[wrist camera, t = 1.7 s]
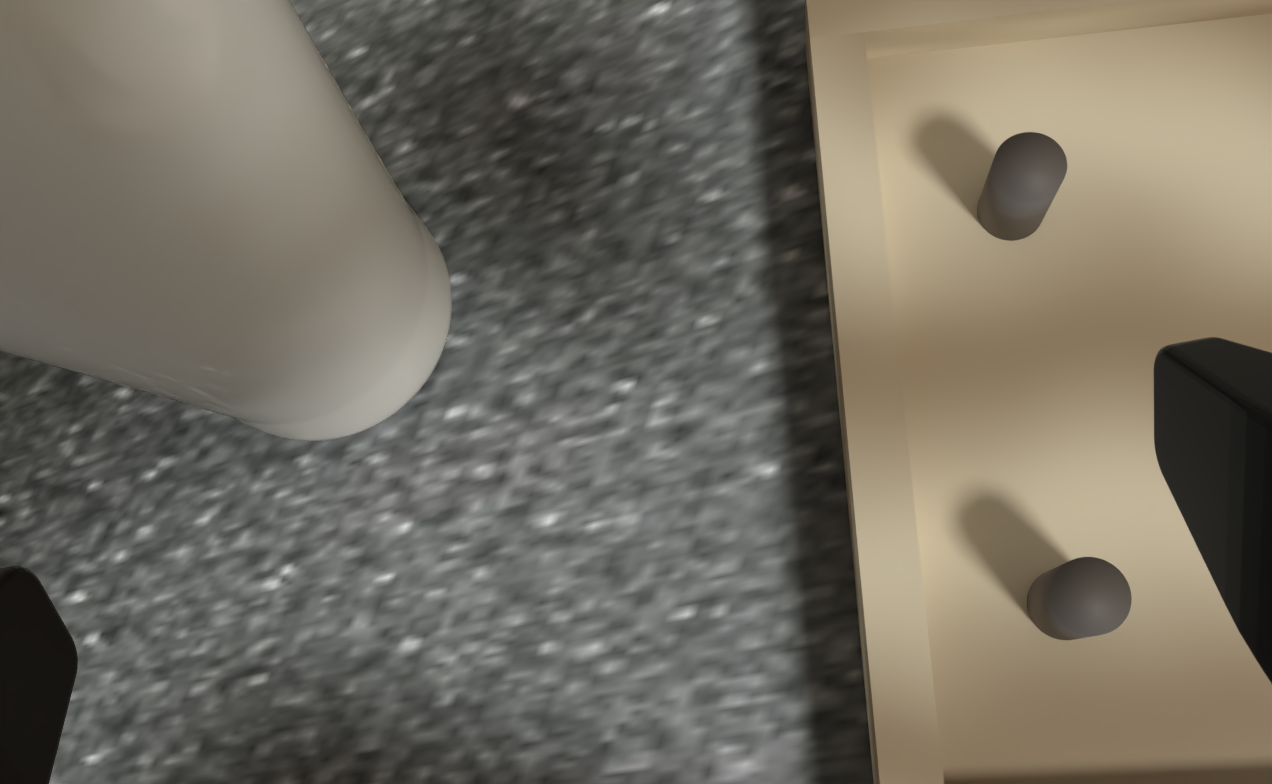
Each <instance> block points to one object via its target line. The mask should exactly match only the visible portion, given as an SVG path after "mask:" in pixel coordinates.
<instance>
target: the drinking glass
mask: <svg viewBox="0 0 1272 784" xmlns="http://www.w3.org/2000/svg"><path fill="white" fill-rule="evenodd" d="M451 315H452V291H451V282H450V277H449V272H448V269H447V266H446V262H445V259H444V257H443V254H442V252H441V250H440V248H439V246H438V244H437V242H436V240H435V239H434V237H433V235H432V234H431V232H430V231H429V229H428V228H427V227H426V225H425V224H424V222H423V221H422V220H421V219H420V217H419V216H418V215H417V214H416V212H415V211H414V210H413V209H412V208H411V206H410V205H409V204H408V203H407V201H406V200H405V198H404V197H403V195H402V193H401V192H400V190H399V188H398V187H397V185H396V184H395V182H394V180H393V179H392V177H391V175H390V173H389V172H388V170H387V168H386V167H385V165H384V163H383V162H382V160H381V158H380V157H379V155H378V153H377V151H376V150H375V148H374V146H373V145H372V143H371V141H370V139H369V138H368V136H367V134H366V133H365V131H364V129H363V127H362V126H361V124H360V122H359V121H358V119H357V117H356V115H355V114H354V112H353V110H352V108H351V107H350V105H349V103H348V102H347V100H346V98H345V96H344V95H343V93H342V91H341V89H340V88H339V86H338V84H337V82H336V81H335V79H334V77H333V75H332V74H331V72H330V70H329V68H328V67H327V65H326V63H325V61H324V60H323V58H322V56H321V54H320V53H319V51H318V49H317V47H316V46H315V44H314V42H313V40H312V39H311V37H310V35H309V33H308V32H307V30H306V28H305V26H304V24H303V23H302V21H301V19H300V17H299V16H298V14H297V12H296V10H295V9H294V7H293V5H292V3H291V2H290V0H0V351H1V352H5V353H9V354H12V355H16V356H19V357H23V358H27V359H30V360H34V361H37V362H41V363H45V364H48V365H52V366H55V367H59V368H63V369H66V370H70V371H74V372H77V373H81V374H84V375H88V376H91V377H95V378H98V379H102V380H106V381H109V382H113V383H116V384H120V385H123V386H127V387H130V388H134V389H137V390H141V391H144V392H148V393H151V394H155V395H158V396H162V397H165V398H169V399H172V400H176V401H179V402H182V403H186V404H189V405H193V406H196V407H199V408H203V409H206V410H209V411H213V412H216V413H219V414H223V415H226V416H229V417H231V418H233V419H235V420H238V421H240V422H242V423H244V424H246V425H248V426H250V427H253V428H255V429H257V430H260V431H262V432H265V433H268V434H271V435H274V436H278V437H282V438H286V439H293V440H300V441H322V440H331V439H337V438H342V437H346V436H350V435H353V434H356V433H359V432H362V431H364V430H367V429H369V428H371V427H373V426H375V425H377V424H379V423H380V422H382V421H384V420H385V419H387V418H389V417H390V416H392V415H393V414H394V413H396V412H397V411H398V410H400V409H401V408H402V407H403V406H404V405H405V404H406V403H408V402H409V401H410V400H411V399H412V398H413V397H414V395H415V394H416V393H417V392H418V391H419V390H420V389H421V387H422V386H423V385H424V384H425V382H426V381H427V379H428V378H429V376H430V375H431V373H432V372H433V370H434V368H435V366H436V364H437V363H438V361H439V359H440V356H441V354H442V352H443V349H444V347H445V343H446V340H447V337H448V333H449V328H450V323H451Z"/></svg>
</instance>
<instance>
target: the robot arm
mask: <svg viewBox="0 0 1272 784" xmlns="http://www.w3.org/2000/svg"><path fill="white" fill-rule="evenodd" d="M1153 376H1154V446H1155V453H1156V457H1157V461H1158V464H1159V467H1160V470H1161V473H1162V475H1163V477H1164V479H1165V481H1166V483H1167V485H1168V487H1169V489H1170V492H1171V494H1172V496H1173V498H1174V500H1175V502H1176V504H1177V506H1178V508H1179V510H1180V512H1181V514H1182V516H1183V518H1184V521H1185V523H1186V525H1187V527H1188V529H1189V531H1190V533H1191V535H1192V537H1193V539H1194V541H1195V543H1196V545H1197V548H1198V550H1199V552H1200V554H1201V556H1202V558H1203V560H1204V562H1205V564H1206V566H1207V568H1208V570H1209V572H1210V574H1211V577H1212V579H1213V581H1214V583H1215V585H1216V587H1217V589H1218V591H1219V593H1220V595H1221V597H1222V599H1223V601H1224V604H1225V606H1226V608H1227V609H1228V611H1229V613H1230V615H1231V617H1232V619H1233V621H1234V623H1235V625H1236V627H1237V629H1238V631H1239V633H1240V634H1241V636H1242V637H1243V639H1244V641H1245V642H1246V644H1247V646H1248V647H1249V649H1250V651H1251V652H1252V654H1253V656H1254V657H1255V659H1256V660H1257V662H1258V664H1259V665H1260V667H1261V668H1262V670H1263V671H1264V673H1265V674H1266V676H1267V677H1268V679H1269V681H1270V682H1271V684H1272V353H1271V352H1268V351H1264V350H1261V349H1257V348H1254V347H1250V346H1247V345H1243V344H1240V343H1236V342H1233V341H1229V340H1226V339H1223V338H1219V337H1206V338H1201V339H1196V340H1191V341H1185V342H1180V343H1175V344H1170V345H1167V346H1164V347H1162V348H1161V349H1160V350H1159V352H1158V353H1157V355H1156V358H1155V362H1154V371H1153ZM77 663H78V658H77V651H76V647H75V644H74V641H73V639H72V637H71V635H70V633H69V632H68V630H67V628H66V626H65V625H64V623H63V621H62V619H61V618H60V616H59V614H58V612H57V610H56V609H55V607H54V605H53V603H52V602H51V600H50V598H49V596H48V595H47V593H46V591H45V589H44V588H43V586H42V584H41V582H40V581H39V579H38V578H37V576H36V575H35V574H34V573H33V572H31V571H30V570H29V569H27V568H24V567H21V566H11V567H6V568H0V784H49V780H50V777H51V773H52V769H53V765H54V761H55V757H56V753H57V749H58V745H59V741H60V737H61V733H62V729H63V725H64V721H65V717H66V713H67V709H68V705H69V701H70V698H71V694H72V690H73V686H74V682H75V678H76V674H77Z"/></svg>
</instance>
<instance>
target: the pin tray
mask: <svg viewBox="0 0 1272 784" xmlns="http://www.w3.org/2000/svg"><path fill="white" fill-rule="evenodd" d="M805 48H806V59H807V69H808V80H809V91H810V102H811V113H812V123H813V134H814V145H815V156H816V167H817V177H818V188H819V199H820V210H821V220H822V231H823V242H824V253H825V264H826V274H827V285H828V296H829V307H830V317H831V328H832V339H833V350H834V361H835V371H836V382H837V393H838V404H839V415H840V425H841V436H842V447H843V458H844V468H845V479H846V490H847V501H848V512H849V522H850V533H851V544H852V555H853V566H854V576H855V587H856V598H857V609H858V619H859V630H860V641H861V652H862V663H863V673H864V684H865V695H866V706H867V716H868V727H869V738H870V749H871V760H872V770H873V781H874V784H1272V684H1271V682H1270V681H1269V679H1268V677H1267V676H1266V674H1265V673H1264V671H1263V670H1262V668H1261V667H1260V665H1259V664H1258V662H1257V660H1256V659H1255V657H1254V656H1253V654H1252V652H1251V651H1250V649H1249V647H1248V646H1247V644H1246V642H1245V641H1244V639H1243V637H1242V636H1241V634H1240V633H1239V631H1238V629H1237V627H1236V625H1235V623H1234V621H1233V619H1232V617H1231V615H1230V613H1229V611H1228V609H1227V608H1226V606H1225V604H1224V601H1223V599H1222V597H1221V595H1220V593H1219V591H1218V589H1217V587H1216V585H1215V583H1214V581H1213V579H1212V577H1211V574H1210V572H1209V570H1208V568H1207V566H1206V564H1205V562H1204V560H1203V558H1202V556H1201V554H1200V552H1199V550H1198V548H1197V545H1196V543H1195V541H1194V539H1193V537H1192V535H1191V533H1190V531H1189V529H1188V527H1187V525H1186V523H1185V521H1184V518H1183V516H1182V514H1181V512H1180V510H1179V508H1178V506H1177V504H1176V502H1175V500H1174V498H1173V496H1172V494H1171V492H1170V489H1169V487H1168V485H1167V483H1166V481H1165V479H1164V477H1163V475H1162V473H1161V470H1160V467H1159V464H1158V461H1157V457H1156V453H1155V446H1154V376H1153V371H1154V362H1155V358H1156V355H1157V353H1158V352H1159V350H1160V349H1161V348H1162V347H1164V346H1167V345H1170V344H1175V343H1180V342H1185V341H1191V340H1196V339H1201V338H1206V337H1219V338H1223V339H1226V340H1229V341H1233V342H1236V343H1240V344H1243V345H1247V346H1250V347H1254V348H1257V349H1261V350H1264V351H1268V352H1271V353H1272V0H805Z"/></svg>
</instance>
